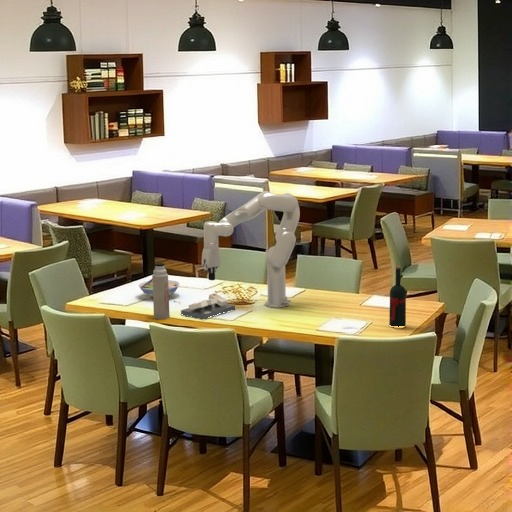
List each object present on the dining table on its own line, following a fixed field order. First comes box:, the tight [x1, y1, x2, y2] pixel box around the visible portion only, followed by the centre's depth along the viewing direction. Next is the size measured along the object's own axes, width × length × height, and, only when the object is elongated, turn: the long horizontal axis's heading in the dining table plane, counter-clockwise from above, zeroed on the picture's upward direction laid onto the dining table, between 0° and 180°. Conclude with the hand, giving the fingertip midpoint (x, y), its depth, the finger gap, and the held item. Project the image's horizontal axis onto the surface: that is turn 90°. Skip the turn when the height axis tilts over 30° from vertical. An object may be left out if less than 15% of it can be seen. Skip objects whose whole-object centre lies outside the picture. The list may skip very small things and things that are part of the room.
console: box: [180, 303, 236, 320], centre depth 493 cm, size 16×24×4 cm, turn 140°
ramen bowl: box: [138, 278, 181, 298], centre depth 528 cm, size 25×23×8 cm
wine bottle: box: [388, 265, 407, 327], centre depth 457 cm, size 8×10×30 cm
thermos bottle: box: [151, 262, 171, 320], centre depth 484 cm, size 8×8×28 cm
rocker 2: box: [200, 298, 218, 305], centre depth 493 cm, size 9×4×3 cm, turn 49°
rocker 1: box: [188, 300, 208, 310], centre depth 487 cm, size 9×4×3 cm, turn 49°
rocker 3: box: [207, 292, 228, 306], centre depth 498 cm, size 9×4×2 cm, turn 51°
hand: (211, 279), depth 499 cm, fingers closed
